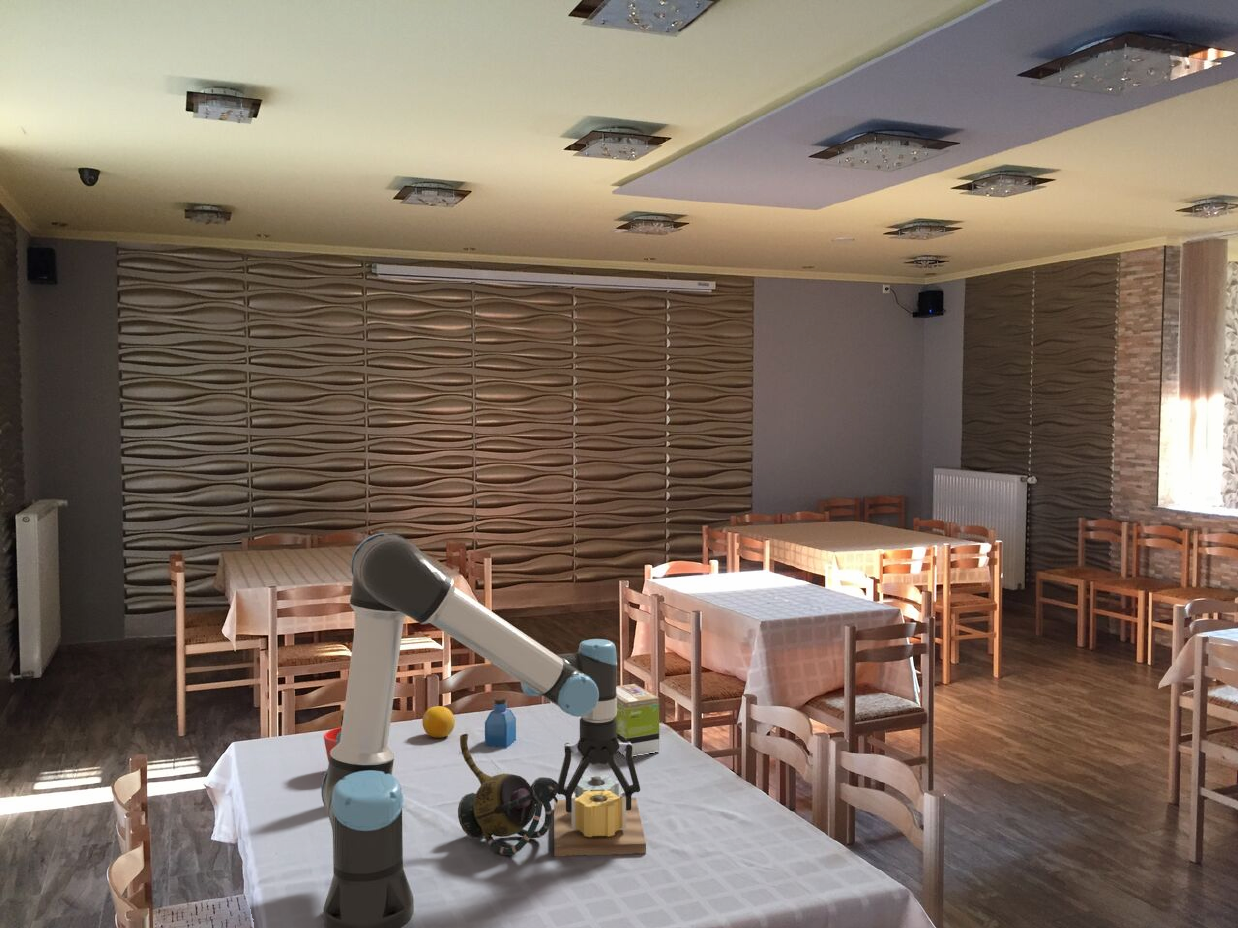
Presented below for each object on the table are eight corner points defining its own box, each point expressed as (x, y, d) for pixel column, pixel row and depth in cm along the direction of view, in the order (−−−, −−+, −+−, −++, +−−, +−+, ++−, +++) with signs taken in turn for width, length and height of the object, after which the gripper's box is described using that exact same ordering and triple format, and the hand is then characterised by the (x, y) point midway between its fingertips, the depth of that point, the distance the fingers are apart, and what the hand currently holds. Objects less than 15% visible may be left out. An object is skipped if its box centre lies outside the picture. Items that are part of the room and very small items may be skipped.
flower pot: (373, 776, 241) (373, 736, 240) (326, 782, 237) (325, 741, 236) (367, 762, 251) (367, 723, 250) (322, 768, 246) (321, 729, 246)
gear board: (646, 853, 197) (645, 808, 197) (554, 856, 196) (554, 811, 196) (635, 806, 221) (635, 766, 221) (554, 808, 220) (553, 768, 220)
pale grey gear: (626, 812, 213) (626, 784, 212) (590, 822, 208) (590, 793, 207) (602, 798, 220) (601, 771, 220) (566, 807, 215) (566, 780, 215)
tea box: (601, 741, 266) (600, 686, 265) (635, 736, 270) (635, 682, 269) (625, 759, 252) (625, 701, 252) (660, 753, 257) (660, 696, 256)
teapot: (471, 869, 199) (558, 840, 188) (426, 749, 204) (509, 714, 193) (507, 847, 210) (592, 818, 199) (464, 733, 214) (545, 699, 203)
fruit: (461, 735, 272) (460, 705, 271) (440, 743, 265) (440, 713, 265) (436, 729, 277) (436, 701, 276) (416, 737, 270) (415, 708, 269)
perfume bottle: (484, 745, 263) (484, 700, 262) (494, 738, 269) (494, 694, 268) (506, 747, 261) (506, 702, 261) (516, 740, 267) (515, 696, 266)
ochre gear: (620, 817, 208) (620, 789, 208) (623, 836, 199) (623, 806, 199) (574, 819, 207) (574, 790, 207) (575, 837, 198) (575, 807, 198)
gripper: (651, 710, 206) (651, 817, 207) (543, 712, 205) (543, 820, 206) (654, 721, 199) (654, 832, 200) (542, 724, 198) (543, 835, 199)
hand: (598, 826), depth 203 cm, fingers closed on ochre gear, 9 cm apart
